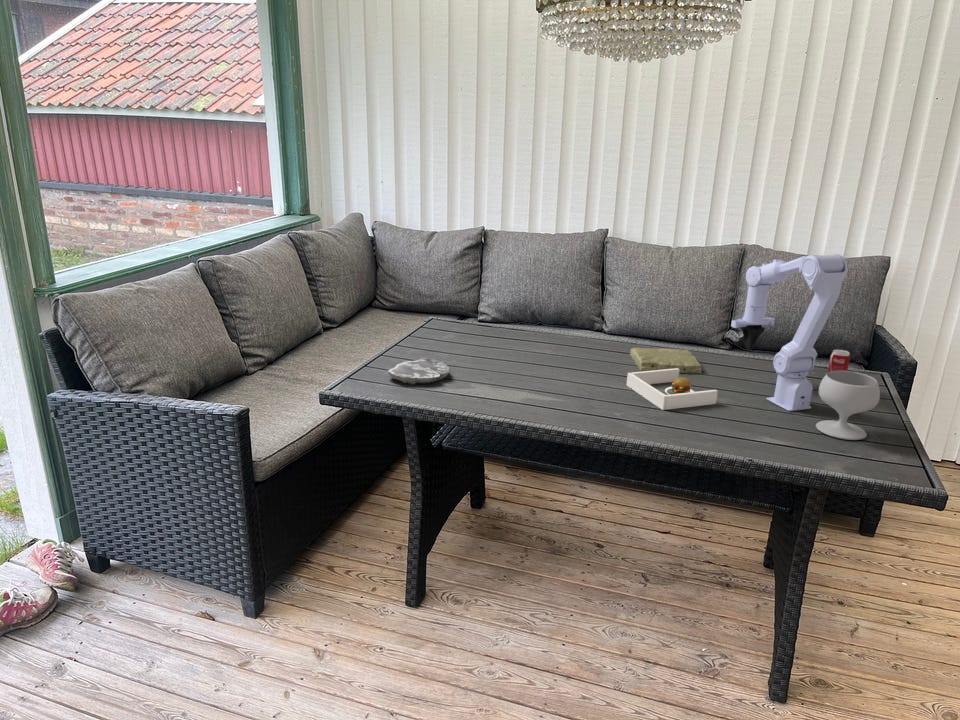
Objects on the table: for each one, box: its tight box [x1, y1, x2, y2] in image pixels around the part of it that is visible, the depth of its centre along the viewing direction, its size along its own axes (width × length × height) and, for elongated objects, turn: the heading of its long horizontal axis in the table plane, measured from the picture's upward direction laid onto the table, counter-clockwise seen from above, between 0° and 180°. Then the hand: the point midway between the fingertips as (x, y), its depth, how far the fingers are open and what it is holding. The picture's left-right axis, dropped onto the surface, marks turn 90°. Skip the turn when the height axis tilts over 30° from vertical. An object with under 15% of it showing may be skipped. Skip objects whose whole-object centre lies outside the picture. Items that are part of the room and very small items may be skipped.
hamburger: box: [664, 376, 695, 395], centre depth 205 cm, size 12×12×6 cm
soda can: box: [826, 349, 851, 374], centre depth 210 cm, size 5×5×12 cm
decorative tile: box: [629, 347, 702, 374], centre depth 231 cm, size 19×20×4 cm
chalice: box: [815, 370, 881, 441], centre depth 180 cm, size 14×14×15 cm
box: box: [626, 368, 719, 411], centre depth 204 cm, size 20×18×4 cm
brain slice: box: [387, 357, 451, 385], centre depth 213 cm, size 20×17×3 cm
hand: (749, 348), depth 215 cm, fingers closed
